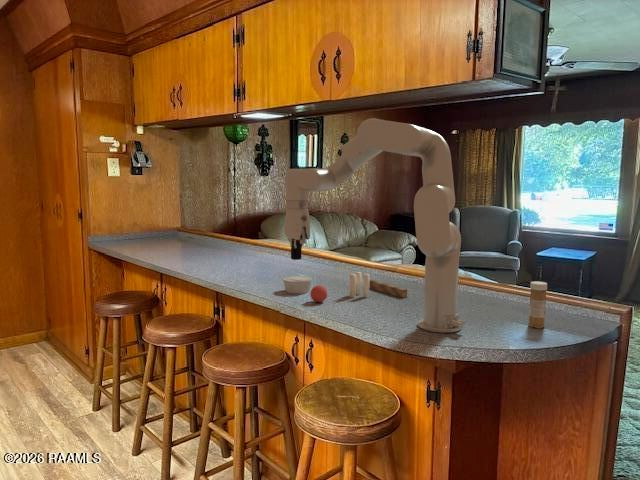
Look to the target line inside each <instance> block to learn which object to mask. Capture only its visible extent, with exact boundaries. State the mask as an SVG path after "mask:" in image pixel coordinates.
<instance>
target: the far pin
mask: <svg viewBox="0 0 640 480" xmlns="http://www.w3.org/2000/svg"><path fill="white" fill-rule="evenodd" d="M354 274H356V296H360V295H362V271H355V272H354Z"/></svg>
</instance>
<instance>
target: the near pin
mask: <svg viewBox="0 0 640 480" xmlns="http://www.w3.org/2000/svg"><path fill="white" fill-rule="evenodd" d="M370 276H371V275H370V274H369V273H364V274H363V275H362V298H370V288H369V280H370V279H371V278H370Z"/></svg>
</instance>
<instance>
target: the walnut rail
mask: <svg viewBox="0 0 640 480" xmlns="http://www.w3.org/2000/svg"><path fill="white" fill-rule="evenodd" d="M369 289H372V290H376V291H378V292H383V293H386V294H389V295H392V296H395V297H398V298H403V299H404V298H407V297H408V289H407V288H402V287H399V286H396V285H392V284H388V283H385V282H382V281H379V280H374V279H372V278H370V280H369Z"/></svg>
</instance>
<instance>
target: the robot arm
mask: <svg viewBox="0 0 640 480" xmlns="http://www.w3.org/2000/svg"><path fill="white" fill-rule="evenodd" d="M356 131H357V133H356V136H354V137H353V138H351V139H349V140H348V141H347V142H346V143H344V144H343V145H342V147H341V155H340V157H339V158H337V160H335V161H334V162H333V163H331V164H330V165H328V166H327V167H326V168H307V169H305V168H290V169H288V170H286V173H285V174H286V177H285V210H286V212H285V219H284V220H285V221H284V235H285V237H286V238H287V241H288V242H290V243H289V245H290V246H289V247H290V259H291V260H294V261H296V260H302V249H303V245H305V244H306V243H307V241H306V240H309V239H310V238H311V225H310V224H311V223H310V222H311V221H310V213H309V192H312V193H314V192H315V193H316V192H328V191H331V190H334V189H335V188H337V187H338V186H339V185H341V184H343V183H344V182H346V181H347V180H349V179H350V178H351V177H352V176H353V175H354V174H355V173H356V171H357V170H358V169H359V168H360V167H362V166H364V165H365V164H366V163H367V162H369V161H370V160H372V159H373V158H375V157H376V156H378V155H379V154H380V153H382V152H387V153H388V152H390V153H394V154H399V155H404V156H411V157H418V158H421V161H422V163H421V164H422V165H421V174H422V176H421V177H422V184H423V185H422V186H421V187H420V188H419V189H418V190H417V191H416V194H415V196H414V199H413V213H414V214H413V215H414V222H415V223H414V225H415V226H414V227H415V238H416V242H417V243H416V244H417V246H418V249H419V251H421V253H422V254H423V255H425V261H424V262H425V263H424V289H423V292H424V293H423V318H420V319H418V321H417V326H418V327H419V328H421V329H422V330H424V331H429V332H433V333H445V334H447V333H455V332H458V331H461V330H462V329H463V328H464V326H465V325H466V321H465V320H461V319H460V313H457V309H458V290H459V289H458V286H459V285H458V284H459V268H460V267H459V265H460V263H459V262H460V254H461V249H462V248H461V245H462V235H461V232H460V229H459V227H458V226H457V225H456V224H455V223H453V222H451V221H450V213H451V212H452V211H453V210H454V208H455V206H456V205H455V204H456V195H455V186H454V185H455V184H454V173H453V165H452V163H453V162H452V155H451V150H450V147H449V144H448V143H447V140H445V138H444V136H442V135H440V134H439V133H437V132H435V131H433V130H431V129H428V128H425V127H422V126H418V125H415V124H411V123H404V122H399V121H398V122H397V121H392V120H385V119H380V118H376V117H375V118H374V117H372V118H367V119H366V120H364V121H362V122H361V124H360V125H359V126H358V128H357V130H356Z"/></svg>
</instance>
